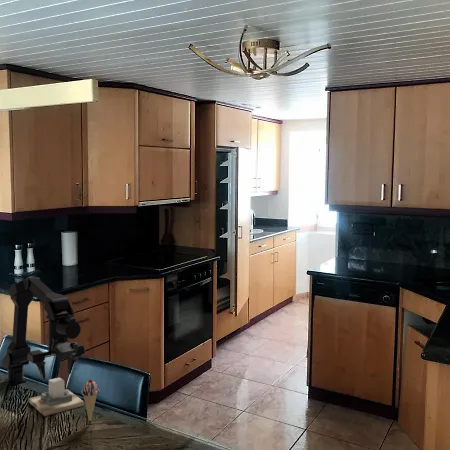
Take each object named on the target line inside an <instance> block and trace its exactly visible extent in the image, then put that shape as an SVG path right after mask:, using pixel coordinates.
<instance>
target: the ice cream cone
mask: <svg viewBox="0 0 450 450" xmlns="http://www.w3.org/2000/svg"><path fill="white" fill-rule="evenodd" d="M80 392H81V393H80V394H81V395H82V396H83V401H84V406H85V409H86V413H87V414H86V415H87V419H88V424H89V425H91V422H92V417H93V414H94V409H95V404H96V399H97V396H98V394H99V393H100V388H99V387H98V384H97V382H96V381H94V380H92V379H89V380H88V381H85V383H84V384H83V386H82V389H81V390H80Z"/></svg>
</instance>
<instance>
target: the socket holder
mask: <svg viewBox="0 0 450 450" xmlns="http://www.w3.org/2000/svg"><path fill="white" fill-rule="evenodd" d="M28 403H30V405H31V406H32V407H33V408H35V409H36V410H37V411H38V412H39V413H40V414H41V415H42V416H43V417H46V416H50V415H53V414H54V415H55V414H57V413H62V412H64V411H68V410H73V409H77V408H79V407H83V406H85V400H84V399H83V400H82V399H81V398H80V396H79V397H78V396H77V395H76V394H75V393H73V392H72V391H71V390H69V389H67V388H66V389H65V388H64V396H62V397H58V398H54V399H51V398H50V397H49V390H48V391H46V392H41V393H40V395H37V396H33V397H29V398H28Z"/></svg>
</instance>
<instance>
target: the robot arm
mask: <svg viewBox="0 0 450 450" xmlns="http://www.w3.org/2000/svg"><path fill="white" fill-rule="evenodd" d="M9 295H10V300H11V301H12V303H13V304H14V305H13V306H14V307H13V310H14V311H13V321H12V322H13V324H12V339H11V342H10V343H9V345H8V346H7V347H6V354H5V355H4V357H3V359H2V360H1V365H2V368H4V369H7V377H6V378H4V381H5V382H6V383H7V384H8V385H9V386H10V385H11V386H12V385H17V384H20V383H25V382H27V379H26V378H25V377H24V366H27V365H29V364H30V363H31V364H34V365H36V367H37V369H38V371H39V374H40V376H41V379H42V380H43V381H45V380H46V368H45V367H46V361H45V360H46V358H51V357H56V358H57V360H58V361H62V360H66V359H67V373H68V375H71V373H72V371H73V368H74V365H75V364H76V361H77V359H79V358H80V357H82V355H84V354H85V355H86V347H85V345H83V344H81V343H79V342H76V341H75V342H69V341H68V339H69V340H74V339H76V338H77V337H79V335H80V333H81V329H82V328H81V326H80V323H78V322H77V321H76V318H75V314H74V312H75V311H74V309H73V308H72V305H71V302H70V301H69V299H68V298H67V296H66V295H63V294H61V293H56V292H54V291H53V290H52V289H50V287H48V286H47V285H46V284H45V283H44V282H43V281H42V280H41V278H40V277H38V276H33V277H31V276H30V277H27V278H24V279H23V280H21V281H19V282H15V283H13V284H12V285H11V286H10V288H9ZM34 295H35V297H36V298H37V299H39V300H40V302H42V303H43V310H45V312H46V314H47V315H46V316H45V318H46V319H47V320H48V334H47V336H46V338H47V339H48V345H47V347H46V350H47V351H44V352H43V351H42V350H40V349H36V350H31V346H30V345H29V344H28V343H27V330H28V329H27V328H28V315H29V314H28V312H29V306H30V304H31V302H32V301H33V300H34Z"/></svg>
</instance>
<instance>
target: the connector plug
mask: <svg viewBox="0 0 450 450" xmlns="http://www.w3.org/2000/svg"><path fill="white" fill-rule="evenodd" d="M64 389H65V380H64V379H63V378H61V377H55V378H51V379H48V391H49V397H50V398H51V399H54V398H58V397H62V396H64Z"/></svg>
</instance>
